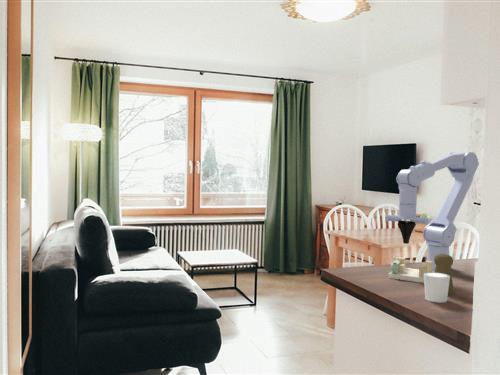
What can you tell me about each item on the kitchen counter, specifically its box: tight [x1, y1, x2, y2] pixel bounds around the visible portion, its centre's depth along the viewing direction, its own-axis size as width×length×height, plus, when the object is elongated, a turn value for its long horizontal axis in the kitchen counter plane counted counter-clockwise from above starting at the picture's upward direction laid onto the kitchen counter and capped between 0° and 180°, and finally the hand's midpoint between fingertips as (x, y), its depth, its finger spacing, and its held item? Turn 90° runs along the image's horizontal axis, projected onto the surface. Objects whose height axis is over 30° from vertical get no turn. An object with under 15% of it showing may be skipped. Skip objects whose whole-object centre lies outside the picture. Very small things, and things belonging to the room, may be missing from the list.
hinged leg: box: [390, 259, 400, 273], centre depth 154 cm, size 9×2×3 cm, turn 156°
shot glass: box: [423, 271, 450, 304], centre depth 126 cm, size 7×7×7 cm
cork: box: [434, 254, 454, 295], centre depth 135 cm, size 6×6×11 cm
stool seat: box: [388, 257, 435, 284], centre depth 152 cm, size 12×12×5 cm
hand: (406, 243), depth 157 cm, fingers closed
